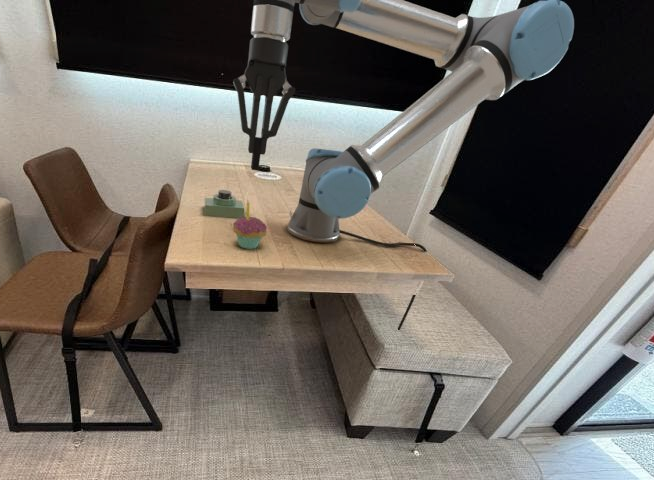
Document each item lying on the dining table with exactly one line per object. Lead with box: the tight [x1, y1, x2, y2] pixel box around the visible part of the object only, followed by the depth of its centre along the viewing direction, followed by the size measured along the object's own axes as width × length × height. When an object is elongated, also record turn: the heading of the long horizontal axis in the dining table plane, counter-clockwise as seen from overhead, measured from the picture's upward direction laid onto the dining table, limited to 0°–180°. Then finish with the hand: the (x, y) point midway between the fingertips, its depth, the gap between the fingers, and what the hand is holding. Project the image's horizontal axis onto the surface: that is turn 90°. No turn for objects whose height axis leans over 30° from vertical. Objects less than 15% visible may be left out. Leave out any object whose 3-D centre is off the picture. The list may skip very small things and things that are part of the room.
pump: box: [217, 189, 232, 199], centre depth 101 cm, size 4×4×2 cm
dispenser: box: [204, 193, 245, 219], centre depth 103 cm, size 12×8×5 cm, turn 97°
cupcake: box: [232, 198, 268, 250], centre depth 81 cm, size 9×8×12 cm
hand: (254, 168), depth 75 cm, fingers closed
